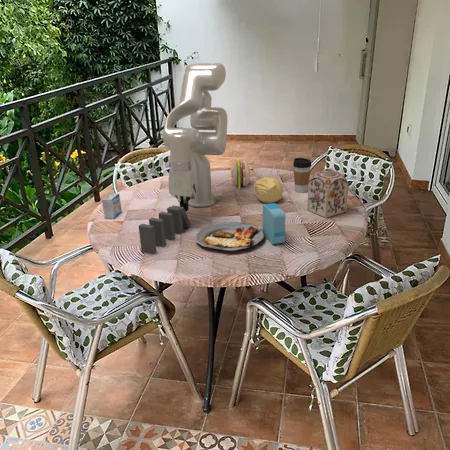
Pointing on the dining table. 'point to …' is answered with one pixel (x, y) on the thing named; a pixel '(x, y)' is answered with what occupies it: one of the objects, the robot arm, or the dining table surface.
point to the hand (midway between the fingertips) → (184, 211)
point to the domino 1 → (147, 238)
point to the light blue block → (274, 223)
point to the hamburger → (241, 173)
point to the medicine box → (111, 206)
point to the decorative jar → (327, 193)
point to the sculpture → (268, 189)
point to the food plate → (230, 236)
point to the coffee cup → (301, 174)
